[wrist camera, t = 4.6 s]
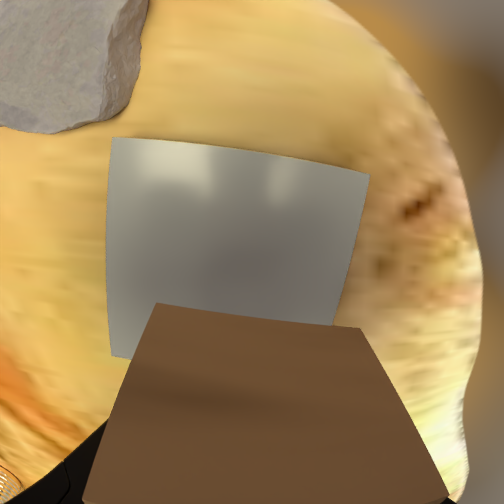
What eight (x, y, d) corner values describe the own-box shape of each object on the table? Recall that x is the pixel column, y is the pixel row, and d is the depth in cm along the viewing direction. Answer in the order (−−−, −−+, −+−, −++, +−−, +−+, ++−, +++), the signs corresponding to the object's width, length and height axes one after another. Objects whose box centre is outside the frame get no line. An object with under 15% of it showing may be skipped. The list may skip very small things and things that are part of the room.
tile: (305, 352, 22) (313, 379, 19) (124, 330, 21) (111, 355, 18) (350, 169, 18) (370, 174, 15) (130, 137, 17) (112, 137, 14)
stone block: (144, 122, 18) (160, -22, 13) (114, 136, 14) (133, -46, 9) (10, 128, 18) (16, 8, 13) (-31, 145, 14) (-25, 5, 8)
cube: (306, 445, 11) (332, 574, 5) (155, 432, 10) (131, 568, 5) (359, 328, 9) (450, 494, 3) (156, 302, 9) (81, 499, 3)
